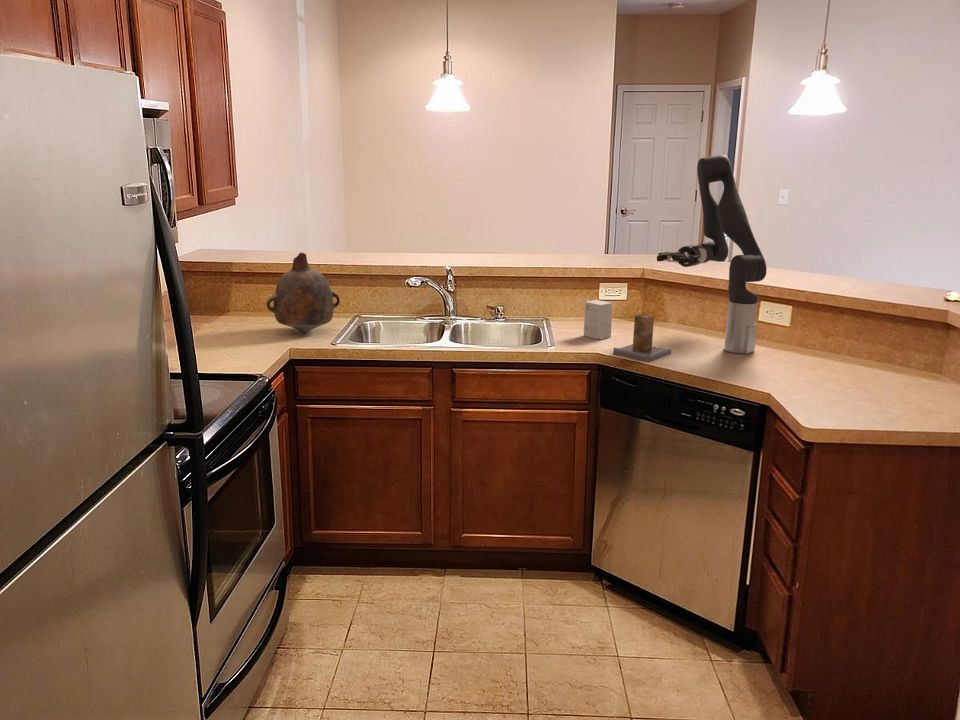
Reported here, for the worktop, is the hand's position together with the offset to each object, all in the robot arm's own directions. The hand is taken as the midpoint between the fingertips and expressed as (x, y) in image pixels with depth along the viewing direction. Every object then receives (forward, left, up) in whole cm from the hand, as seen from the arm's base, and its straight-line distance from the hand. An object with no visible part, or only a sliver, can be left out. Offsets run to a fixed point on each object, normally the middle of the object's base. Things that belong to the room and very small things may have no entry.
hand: (668, 259), depth 274 cm
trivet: (-3, +18, -30) cm, 35 cm away
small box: (+22, +9, -30) cm, 38 cm away
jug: (+102, +83, -30) cm, 134 cm away
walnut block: (-3, +18, -29) cm, 34 cm away
